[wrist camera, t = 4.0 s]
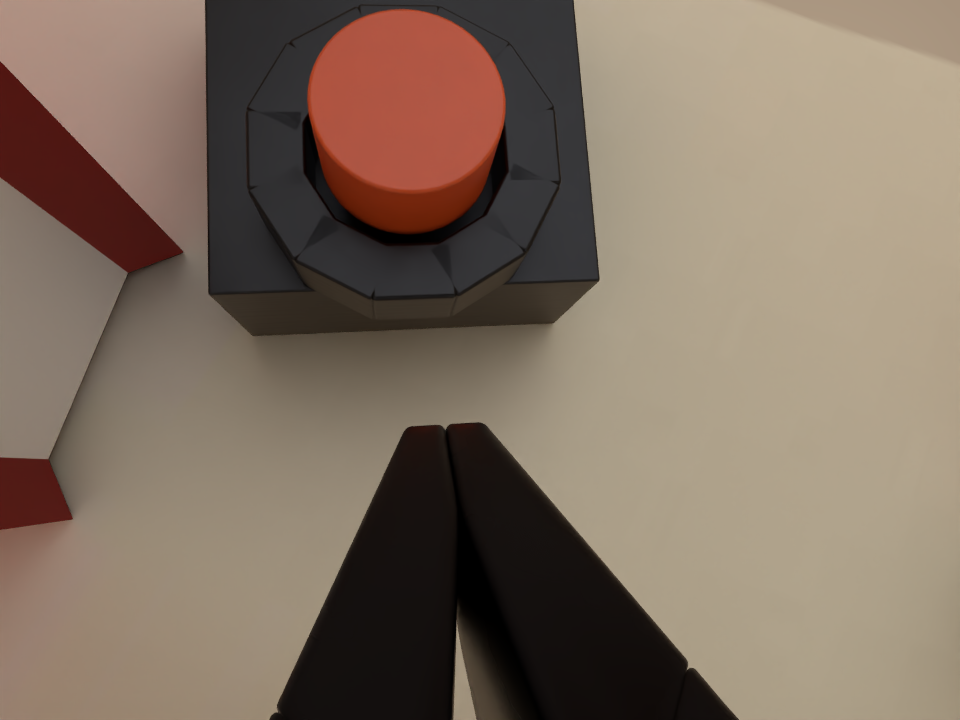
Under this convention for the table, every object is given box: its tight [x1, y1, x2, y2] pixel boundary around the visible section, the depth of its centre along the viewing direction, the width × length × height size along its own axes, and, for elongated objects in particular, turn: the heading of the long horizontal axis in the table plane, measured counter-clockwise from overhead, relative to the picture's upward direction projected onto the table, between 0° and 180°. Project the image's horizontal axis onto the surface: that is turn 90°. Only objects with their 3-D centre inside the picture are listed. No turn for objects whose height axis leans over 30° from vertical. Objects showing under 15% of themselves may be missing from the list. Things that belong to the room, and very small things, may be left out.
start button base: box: [205, 0, 599, 336], centre depth 19 cm, size 11×9×7 cm
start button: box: [307, 9, 506, 235], centre depth 14 cm, size 4×4×2 cm
